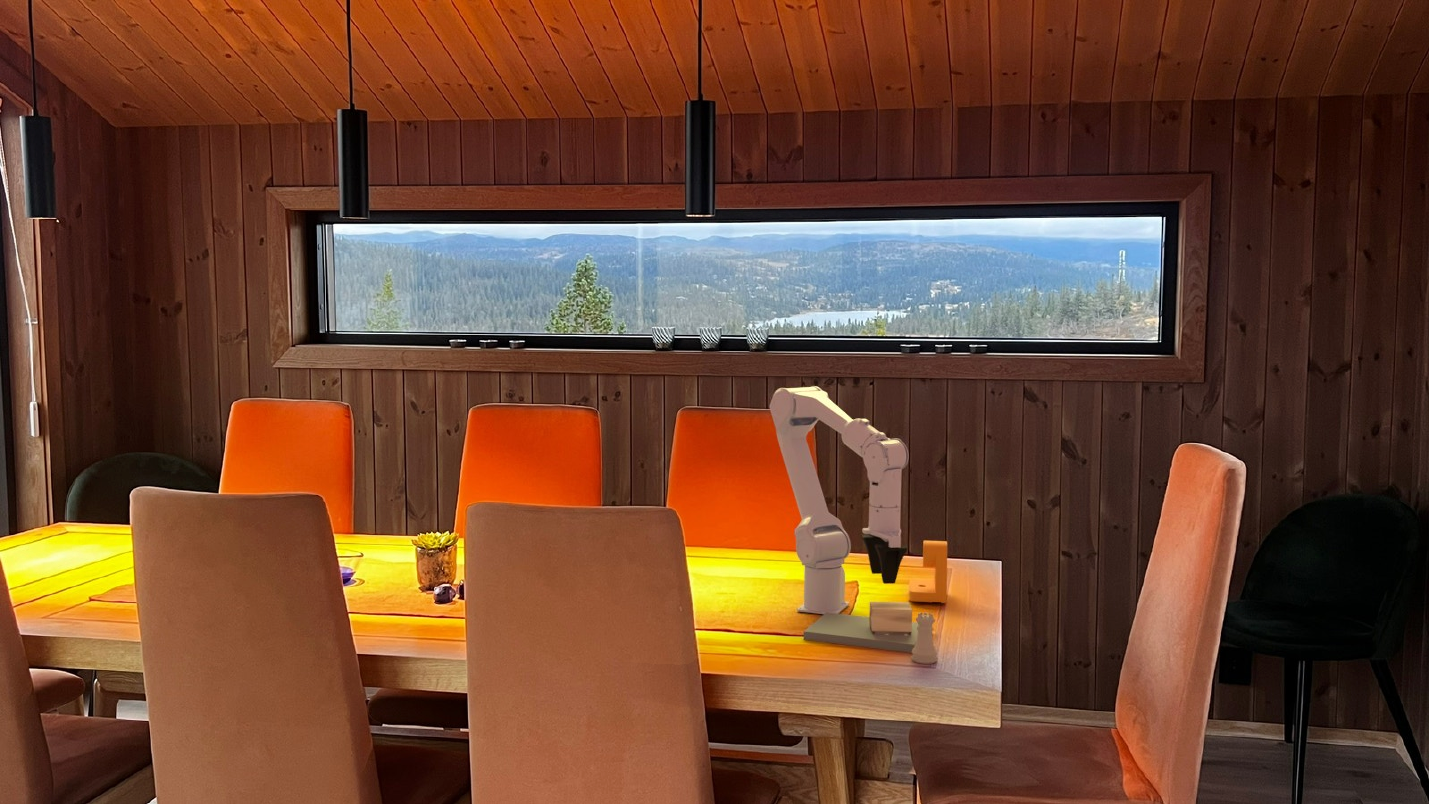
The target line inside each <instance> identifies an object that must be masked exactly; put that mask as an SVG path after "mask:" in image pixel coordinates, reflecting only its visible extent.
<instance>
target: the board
mask: <svg viewBox="0 0 1429 804" xmlns="http://www.w3.org/2000/svg"><path fill="white" fill-rule="evenodd" d="M869 617H870V616H862V615H853V614H852V615H851V614H844V613H838V614H837V613H828V612H826V613H825V614H822V616H820V617H819V618H818V619H817V620H816V621H814V622H813V623H812V624H811V625H810V626H808V627H807V628H806V629H805V630H803V640H805V641H812V642H821V643H828V644H829V643H830V644H839V645H843V646H854V647H860V648H861V647H862V648H868V649H869V648H870V649H876V650H885V651H893V652H895V651H896V652H901V653H902V652H903V653H909V654H910V653H911V654H912V649H913V648H914V647H915V645H916V642H917V637H918V630H917V627H918V623H917V621H916V622H914V621H912V632H911V634H875V633H872V631H871V628H870V624H869Z"/></svg>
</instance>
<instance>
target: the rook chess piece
mask: <svg viewBox="0 0 1429 804" xmlns="http://www.w3.org/2000/svg"><path fill="white" fill-rule="evenodd" d="M915 621H916V623H918V627H917V630H918V637H917V642H916V645H915V647H914V648H913V649H912V653H911V654H912V655H911V656H910V658H911V660H912V661H913V662H914V663H917V664H919V665H920V664H921V665H932V664H935V663H936V662H937V661H938V659H939V658H938V657H937V655H938V651H937V649H936V646H935V644H934V640H933V631H934V629H935V628H934V626H933V624H934V623H935V622H936V619H935V618H934V614H933V613H932V612H929V613H928V612H925V611H924V613H923V612H919V613H917V617H916V618H915Z"/></svg>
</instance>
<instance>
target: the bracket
mask: <svg viewBox="0 0 1429 804" xmlns="http://www.w3.org/2000/svg"><path fill="white" fill-rule="evenodd" d="M922 543H923V546H922V549H923V550H922V551H923V552H922V568H930V569H931V568H933V569H934V578H933V579H915V578H911V579H909V580H908V583H909V585H908V590H909V591H908V601H909V602H914V603H915V602H916V603H932V602H941V603H940V604H947V596H948V594H947V593H948V591H947V590H948V589H947V587H948V586H947V585H948V584H947V583H948V582H947V581H948V541H946V540H945V541H943V540H923V542H922Z"/></svg>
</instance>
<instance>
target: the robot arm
mask: <svg viewBox="0 0 1429 804" xmlns="http://www.w3.org/2000/svg"><path fill="white" fill-rule="evenodd" d="M768 407H769V411H770V414H771V417H772V420H773V424H774V427H775V432H776V438H777V442H778V446H779V447H780V448H779V449H780V452H781V456H782V458H783V462H784V464H785V465H784V466H785V468H786V472H787V475H788V478H789V481H790V485H791V489H792V492H793V494H794V498H795V502H796V506H797V509H798V511H799V514H800V518H801V521H800V522H799V524H798V525H797V527H796V528H795V529H794V531H793V533H794V536H795V551H796V556H797V558H798V559H799V561H800V562H801V565H802V566H804V583H803V584H804V585H803V586H804V587H803V604H802V605H800V606H799V607H798V608H797V609H796V611H797V612H801V613H810V614H819V615H824V614H825V613H826V612H828V613H837V614H841V612H843V610H845V608H847V607H848V606H849V605H850V602H849V601H845V598H846V597H845V593H846V592H845V591H846V589H845V588H846V573H845V568H843V566H842V565H844V564H845V559H847V558H848V557H849V555H850V553H851V550H852V549H851V548H852V547H851V546H852V544H851V540H850V536H849V534H848V532H847V531H846V530H845V529H844V527H843V524H842V521H841V520H840V519H839V518H838V517H836V516H835V515H833V514H832V513H830V512H829V509H828V507H827V503H826V499H825V497H824V493H823V489H822V487H821V483H820V479H819V476H818V474H817V470H816V466H815V464H814V461H813V457H812V454H811V450H810V446H809V444H808V442H807V436H808V433H809V432H811V431H812V430H813V428H814V427H815V426H816V424H817V422H818V421H820V422H821V423H824V424H825V425H826V426H828V427H830V428H832V429H833V430H835V431H836V432H837V433H839V434H841V441H842V443H843V444H844V445H846V446H847V447H848V448H849V449H850V450H852V451H853V452H854V453H856V454H857V455H858V456H860V457H861V458H862V459H863V463H864V466H865V468H866V470H867V478H868V481H869V495H868V496H869V500H868V503H869V505H868V527H863V528H862V530H861V531H862V533H863V534H864V535H861V539H862V541H863V544H864V546H865V548H866V550H867V551H866V552H867V556H868V560H869V567H870V571H871V574H873V575H875V574H876V575H877V574H881V579H882V583H883V584H885V585H887V584H888V585H889V584H896V581H897V578H898V575H899V570H900V566H901V563H902V560H903V559H904V557H905V555H906V553H907V551H908V547H907V546H906V545H902V543H901V542H902V536H901V534H902V529H901V511H902V510H901V505H902V499H901V498H902V470H903V469H904V468H906V466H907V465H908V463H909V457H910V456H909V449H908V447H907V445H906V444H905V443H904V441H903V440H901V439H900V438H896V437H895V438H889V437H887V435H886V433H885V432H881V431H879V430H877V429H876V428H875V427H874V426H872V425H871V424H870V420H868V419H867V418H855V419H852V417H851V416H850V415H848V414H847V413H846V412H845V411H844V410H842V409H841V408H840V407H839V406H838V405H837V404H835V403H834V402H833V401H832V400H831V399H830V398H829V395H828V392H826V391H824V390H822V388H820V387H819V386H815V385H812V386H810V387H809V386H805V387H804V386H803V387H789V388H786V387H780V388H778V389H777V390H775V391H774V394H772V398H771V400H770V403H769V406H768Z"/></svg>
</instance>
